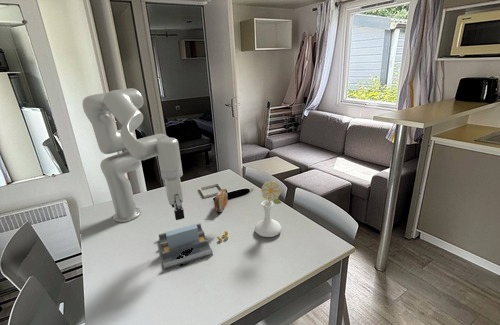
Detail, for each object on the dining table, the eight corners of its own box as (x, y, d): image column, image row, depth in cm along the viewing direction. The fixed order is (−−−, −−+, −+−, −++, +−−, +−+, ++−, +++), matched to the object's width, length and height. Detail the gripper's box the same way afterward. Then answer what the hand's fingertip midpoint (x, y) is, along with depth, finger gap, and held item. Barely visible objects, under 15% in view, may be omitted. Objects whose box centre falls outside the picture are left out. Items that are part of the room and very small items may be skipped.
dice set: (227, 234, 115) (227, 230, 115) (230, 240, 111) (230, 237, 110) (216, 236, 114) (215, 233, 113) (219, 244, 109) (218, 240, 109)
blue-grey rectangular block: (168, 246, 107) (165, 232, 104) (198, 238, 111) (195, 223, 108) (169, 251, 104) (166, 236, 102) (199, 242, 108) (197, 227, 106)
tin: (220, 215, 129) (218, 200, 126) (214, 215, 129) (212, 199, 126) (229, 200, 142) (227, 186, 139) (223, 200, 143) (221, 185, 140)
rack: (159, 239, 113) (158, 234, 112) (201, 227, 120) (200, 223, 119) (164, 270, 96) (163, 264, 95) (212, 255, 102) (212, 249, 101)
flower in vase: (249, 232, 114) (246, 180, 105) (266, 221, 122) (264, 170, 113) (273, 245, 106) (271, 188, 97) (289, 231, 113) (289, 178, 104)
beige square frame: (199, 189, 156) (199, 187, 156) (218, 185, 160) (218, 183, 160) (204, 198, 146) (203, 195, 145) (224, 193, 150) (224, 190, 149)
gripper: (158, 165, 102) (165, 204, 109) (163, 183, 87) (171, 227, 94) (178, 162, 105) (183, 200, 111) (186, 179, 90) (192, 221, 96)
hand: (178, 212), depth 102 cm, fingers open, 9 cm apart
